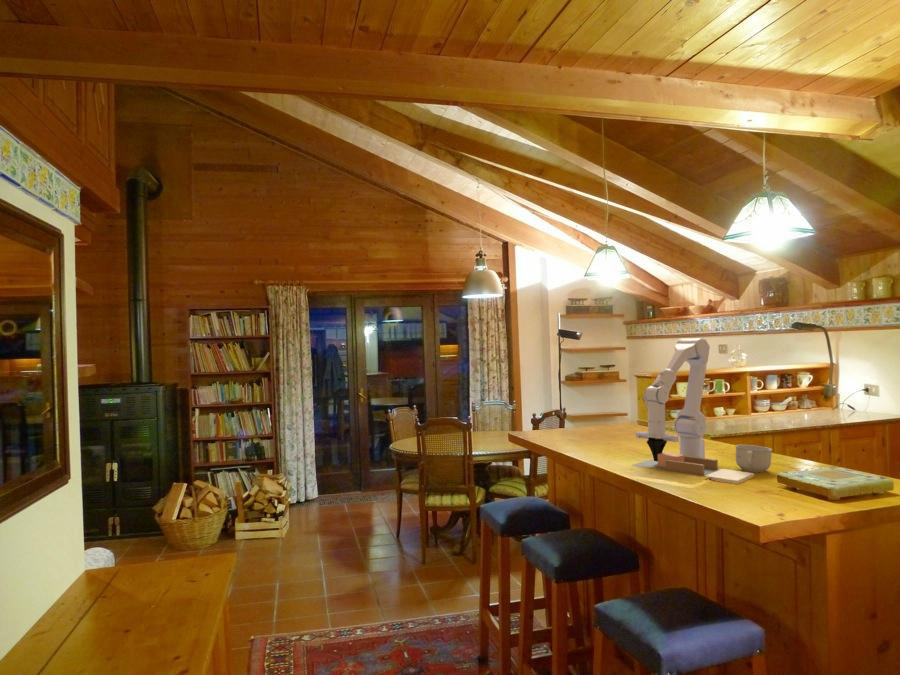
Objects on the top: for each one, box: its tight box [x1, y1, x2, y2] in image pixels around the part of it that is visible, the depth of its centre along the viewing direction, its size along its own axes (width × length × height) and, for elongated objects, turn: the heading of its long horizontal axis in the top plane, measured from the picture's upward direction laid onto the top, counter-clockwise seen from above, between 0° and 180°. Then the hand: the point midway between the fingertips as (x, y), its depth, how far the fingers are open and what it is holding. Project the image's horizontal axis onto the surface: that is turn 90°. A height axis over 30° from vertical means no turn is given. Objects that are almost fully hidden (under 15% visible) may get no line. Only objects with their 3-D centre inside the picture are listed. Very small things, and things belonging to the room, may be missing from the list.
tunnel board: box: [631, 456, 755, 485], centre depth 203 cm, size 14×35×4 cm, turn 45°
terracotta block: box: [658, 451, 684, 467], centre depth 208 cm, size 5×7×4 cm
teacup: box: [735, 444, 773, 473], centre depth 203 cm, size 14×11×8 cm
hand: (657, 460), depth 212 cm, fingers closed
